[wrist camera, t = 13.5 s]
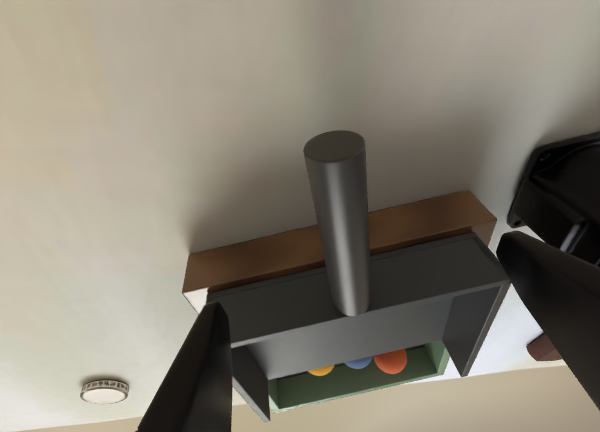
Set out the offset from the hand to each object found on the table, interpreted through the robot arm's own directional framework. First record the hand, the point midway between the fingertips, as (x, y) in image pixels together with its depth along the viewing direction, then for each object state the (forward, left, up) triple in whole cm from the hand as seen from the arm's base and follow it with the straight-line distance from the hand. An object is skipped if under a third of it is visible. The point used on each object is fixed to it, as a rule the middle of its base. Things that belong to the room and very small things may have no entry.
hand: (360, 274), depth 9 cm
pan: (0, +8, -6) cm, 9 cm away
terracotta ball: (-4, +24, -7) cm, 25 cm away
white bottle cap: (+24, +21, -9) cm, 33 cm away
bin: (0, +23, -9) cm, 25 cm away
